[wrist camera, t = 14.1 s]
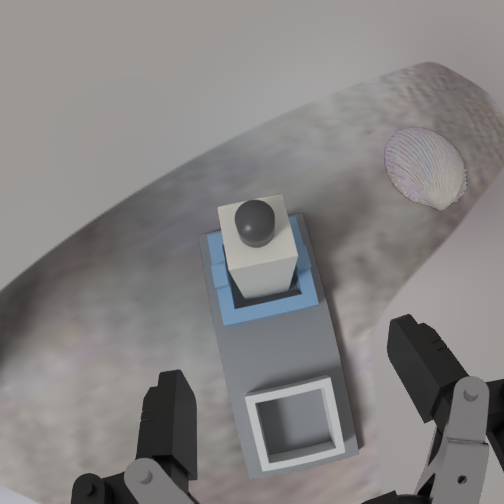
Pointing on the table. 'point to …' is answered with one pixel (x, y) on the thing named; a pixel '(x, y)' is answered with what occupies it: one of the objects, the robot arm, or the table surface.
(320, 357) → the socket
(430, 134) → the seashell
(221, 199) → the table surface
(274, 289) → the white knobbed square peg
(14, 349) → the table surface
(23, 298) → the table surface
